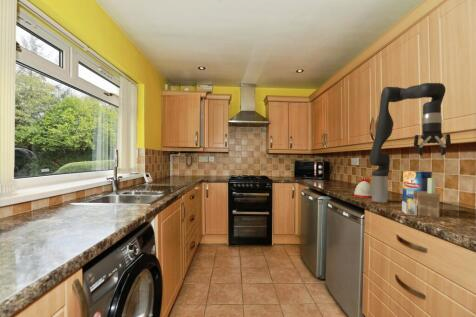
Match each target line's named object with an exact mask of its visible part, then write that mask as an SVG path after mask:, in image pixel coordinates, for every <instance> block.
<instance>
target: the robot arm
mask: <svg viewBox="0 0 476 317" xmlns="http://www.w3.org/2000/svg"><path fill="white" fill-rule="evenodd" d="M445 94H446V86H445V85H444V84H443V82H424V83H421V84H416V85H411V86H409V87H407V88H404V87H399V86H386V87H384V88H383V89H382V90H381V92H380V101H379V110H378V118H377V123H376V127H375V134H374V140H373V144H372V146H371V151H370V154H369V164H370V166H374V167H378V168H377V169H375V170H373V171H371V172H372V173H371V186H372V198H371V201H372V202H374V203H388V196H389V195H388V194H389V193H388V192H389V191H388V190H389V173H390V166H391V165H390V164H391V157H390V154H389V153H388V152H385V151H384V152H382V151H381V150H382V148H383V146H384V144H385V143H386V142H387V141H388V139H389V138H390V136H392V134H393V128H394V120H393V118H392V116H391V114H390V110H389V109H390V108H389V107H390V106H389V105H390V103H398V102H402V101H405V100H415V99H422V98H423V99H424V98H425V99H426V98H431V100H430V101H427V102H425V103H424V104H423V105H422V118H421V128H422V129H421V135H419V134H415V135H414V138H413V148H417V152H418V155H419V156H423V152H424V148H423V147H424V146H425V145H426V144H437V145H439V147H441V148H440V155H441V156H445V155H446V154H447V147H448V148H449V147H451V145H452V141H451V139H452V138H451V134H450V133H447V134H443V133H442V130H443V129H442V127H443V126H442V122H443V120H442V119H443V118H442V103H443V100H444V97H445ZM442 138H443V139H444V140H445V143H444V141H442ZM420 139H422V142H420V143H419V140H420Z"/></svg>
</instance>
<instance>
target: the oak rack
mask: <svg viewBox="0 0 476 317" xmlns="http://www.w3.org/2000/svg"><path fill="white" fill-rule="evenodd" d="M417 197H418V198H417ZM413 203H415V204H416V205H417V215H416V216H421V217H423V216H424V217H434V218H440V193H435V194H432V193H427V191H413Z"/></svg>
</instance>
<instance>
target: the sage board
mask: <svg viewBox="0 0 476 317" xmlns="http://www.w3.org/2000/svg"><path fill="white" fill-rule="evenodd" d="M436 187H437V186H436V178H433V177H432V178H428V184H427V193H432V194H436Z"/></svg>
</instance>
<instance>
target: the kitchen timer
mask: <svg viewBox="0 0 476 317" xmlns="http://www.w3.org/2000/svg"><path fill="white" fill-rule="evenodd" d="M371 181H372V178H369V177H365V178H364V176H363V177H362V178H360V180H358V182H359V183H358V184H357V185H356V187H355V189H354V193H353V197H356V198H362V199H372V184H370V182H371Z"/></svg>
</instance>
